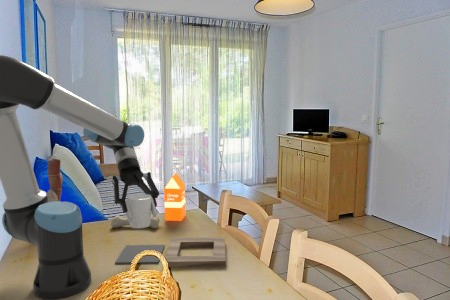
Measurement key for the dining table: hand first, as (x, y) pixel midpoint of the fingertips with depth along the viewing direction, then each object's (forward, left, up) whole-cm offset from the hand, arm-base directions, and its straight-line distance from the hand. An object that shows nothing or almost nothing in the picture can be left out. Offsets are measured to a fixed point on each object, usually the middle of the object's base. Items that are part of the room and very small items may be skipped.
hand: (143, 217), depth 116 cm
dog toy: (+31, +10, -15) cm, 36 cm away
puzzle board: (+3, -17, -14) cm, 23 cm away
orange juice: (+43, -5, -14) cm, 46 cm away
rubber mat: (+3, +2, -14) cm, 15 cm away
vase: (+28, +42, -14) cm, 52 cm away
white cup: (+3, +2, -4) cm, 5 cm away
